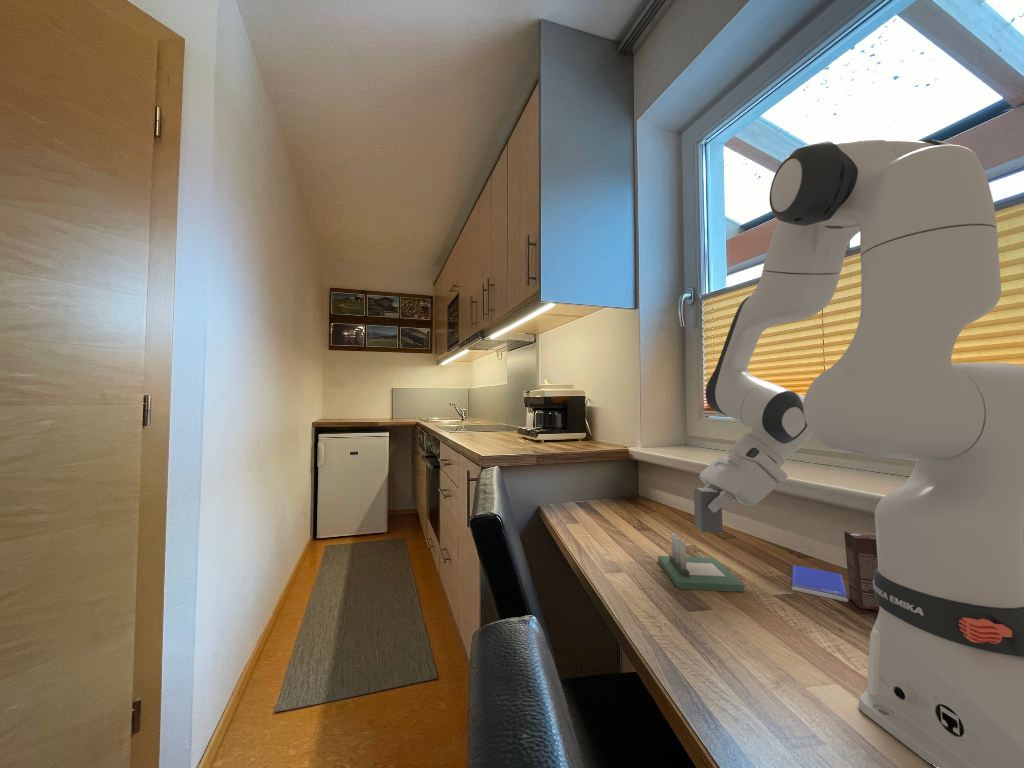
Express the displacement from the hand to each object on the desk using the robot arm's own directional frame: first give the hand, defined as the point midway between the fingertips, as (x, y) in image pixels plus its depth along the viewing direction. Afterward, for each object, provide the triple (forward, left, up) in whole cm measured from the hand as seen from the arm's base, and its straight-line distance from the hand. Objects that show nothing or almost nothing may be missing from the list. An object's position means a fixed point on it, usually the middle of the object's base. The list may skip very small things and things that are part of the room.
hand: (704, 506), depth 82 cm
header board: (0, +2, -14) cm, 14 cm away
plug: (0, -1, -5) cm, 5 cm away
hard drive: (-2, -20, -15) cm, 25 cm away
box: (-10, -24, -14) cm, 30 cm away
